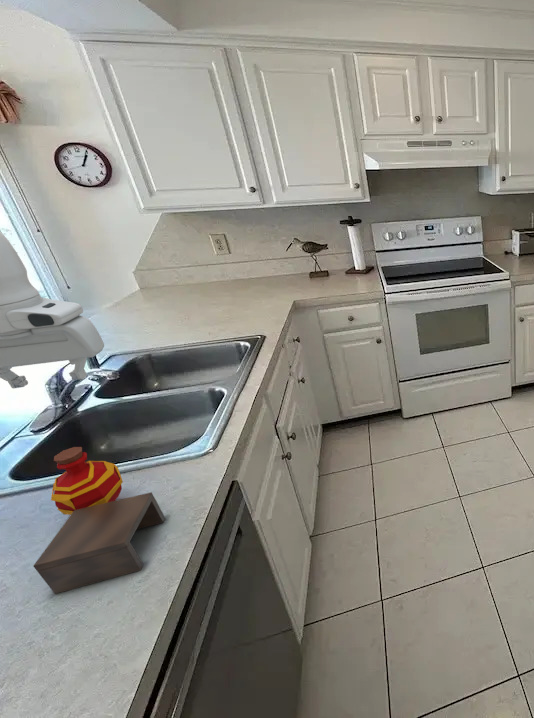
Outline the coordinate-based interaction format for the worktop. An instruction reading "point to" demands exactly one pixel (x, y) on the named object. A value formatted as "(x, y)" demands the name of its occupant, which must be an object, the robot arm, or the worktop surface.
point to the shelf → (97, 543)
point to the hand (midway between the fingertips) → (51, 382)
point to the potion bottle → (84, 481)
